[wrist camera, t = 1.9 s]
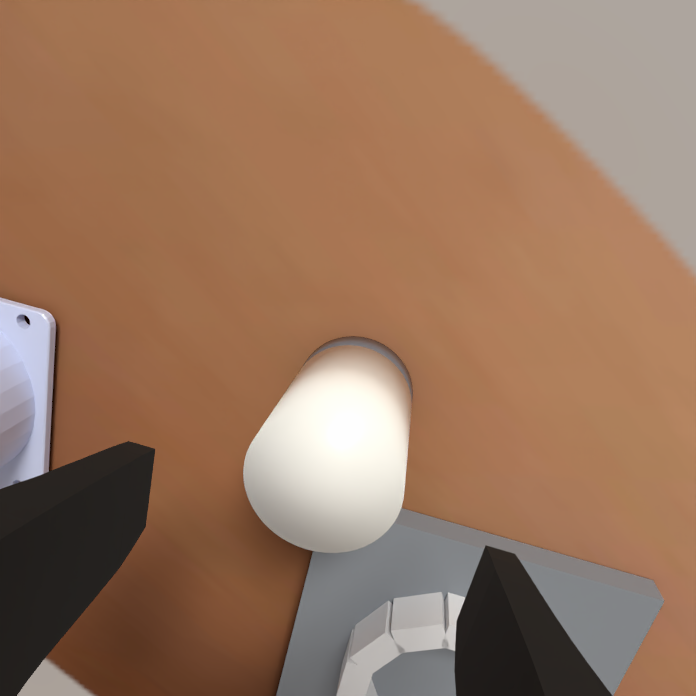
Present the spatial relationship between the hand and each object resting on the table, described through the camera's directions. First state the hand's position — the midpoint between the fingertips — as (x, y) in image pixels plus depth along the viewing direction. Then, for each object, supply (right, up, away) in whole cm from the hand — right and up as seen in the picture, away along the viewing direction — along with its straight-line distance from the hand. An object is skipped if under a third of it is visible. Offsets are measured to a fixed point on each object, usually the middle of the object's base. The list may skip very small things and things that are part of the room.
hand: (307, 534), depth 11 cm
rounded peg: (+1, +2, +7) cm, 8 cm away
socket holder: (+5, -8, +10) cm, 14 cm away
